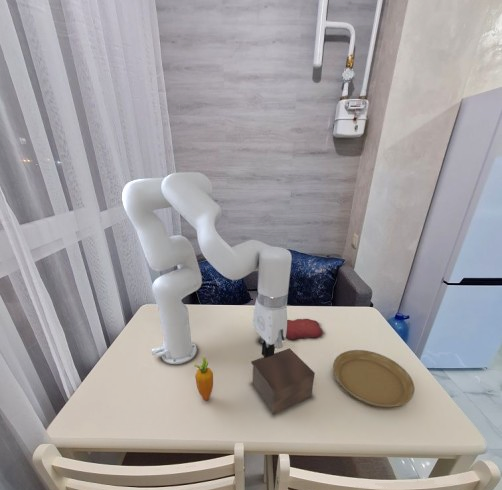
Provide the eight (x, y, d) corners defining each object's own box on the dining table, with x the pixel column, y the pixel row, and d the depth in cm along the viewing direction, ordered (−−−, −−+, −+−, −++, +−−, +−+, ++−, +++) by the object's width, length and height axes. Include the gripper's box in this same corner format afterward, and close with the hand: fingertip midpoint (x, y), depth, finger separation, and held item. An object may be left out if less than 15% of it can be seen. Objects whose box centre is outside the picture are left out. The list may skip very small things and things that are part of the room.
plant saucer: (431, 407, 77) (434, 399, 75) (354, 418, 73) (357, 410, 72) (381, 353, 98) (383, 346, 97) (320, 360, 95) (321, 353, 93)
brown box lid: (272, 392, 70) (273, 390, 70) (251, 363, 80) (251, 361, 80) (314, 375, 76) (315, 372, 76) (289, 349, 86) (289, 348, 86)
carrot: (207, 409, 75) (203, 369, 69) (194, 402, 78) (189, 362, 71) (218, 398, 79) (215, 358, 73) (205, 391, 81) (202, 352, 75)
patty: (285, 341, 105) (285, 337, 104) (277, 322, 117) (277, 318, 116) (327, 337, 107) (327, 333, 106) (314, 319, 119) (315, 315, 119)
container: (273, 414, 74) (274, 391, 70) (252, 384, 84) (252, 362, 80) (311, 397, 80) (314, 375, 76) (287, 370, 90) (289, 350, 86)
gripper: (245, 287, 70) (244, 343, 78) (275, 315, 58) (270, 377, 66) (269, 282, 73) (265, 336, 81) (302, 308, 61) (294, 368, 69)
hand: (267, 354), depth 73 cm, fingers closed
